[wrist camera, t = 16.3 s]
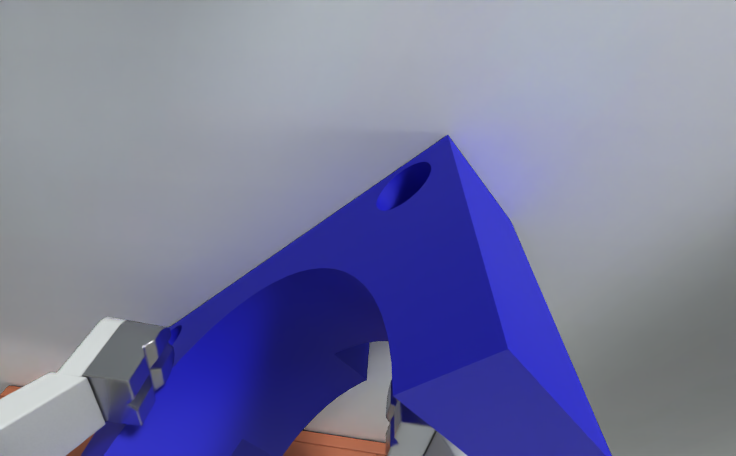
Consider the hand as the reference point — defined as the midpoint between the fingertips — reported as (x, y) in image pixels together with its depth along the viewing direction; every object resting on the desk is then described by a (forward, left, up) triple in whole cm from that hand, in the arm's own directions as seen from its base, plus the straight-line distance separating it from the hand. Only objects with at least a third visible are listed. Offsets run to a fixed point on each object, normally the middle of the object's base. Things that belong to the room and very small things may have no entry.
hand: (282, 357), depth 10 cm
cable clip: (-1, 0, -3) cm, 3 cm away
